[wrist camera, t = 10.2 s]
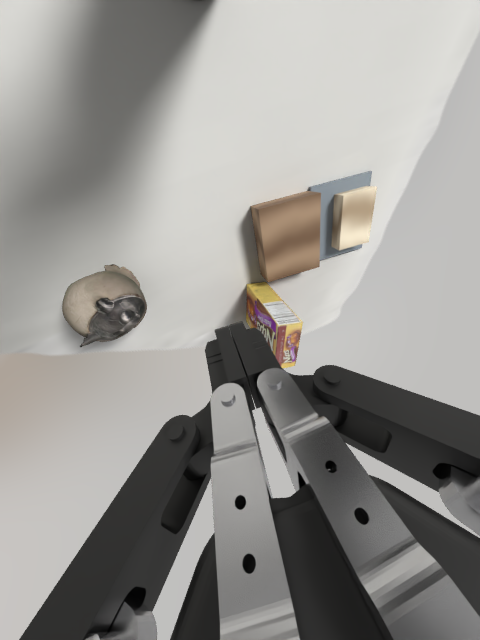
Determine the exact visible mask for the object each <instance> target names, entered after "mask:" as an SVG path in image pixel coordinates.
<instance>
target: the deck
mask: <svg viewBox="0 0 480 640" xmlns="http://www.w3.org/2000/svg"><path fill="white" fill-rule="evenodd" d="M251 212H252V219H253V225H254V232H255V239H256V245H257V252H258V259H259V265H260V272H261V275H262V276H263V277H264V278H265V279H266V280H267V282H270V281H274V280H277V279H280V278H284V277H287V276H290V275H294V274H297V273H300V272H304V271H307V270H310V269H314V268H317V267H319V264H320V215H321V193H320V192H312V191H306V192H302V193H298V194H294V195H291V196H287V197H283V198H279V199H276V200H272V201H268V202H264V203H261V204H257V205H253V206H251Z"/></svg>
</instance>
